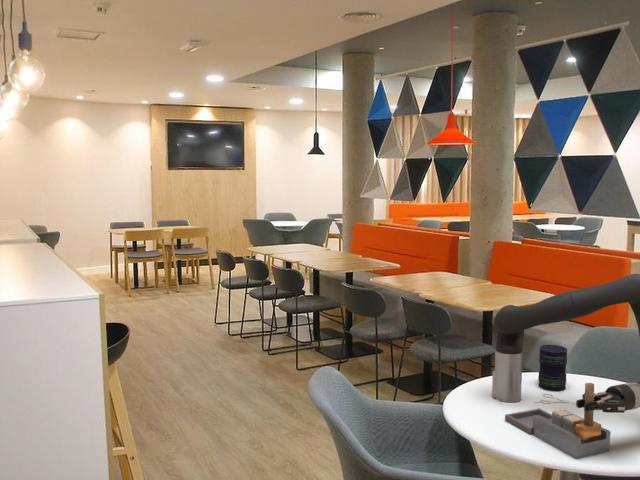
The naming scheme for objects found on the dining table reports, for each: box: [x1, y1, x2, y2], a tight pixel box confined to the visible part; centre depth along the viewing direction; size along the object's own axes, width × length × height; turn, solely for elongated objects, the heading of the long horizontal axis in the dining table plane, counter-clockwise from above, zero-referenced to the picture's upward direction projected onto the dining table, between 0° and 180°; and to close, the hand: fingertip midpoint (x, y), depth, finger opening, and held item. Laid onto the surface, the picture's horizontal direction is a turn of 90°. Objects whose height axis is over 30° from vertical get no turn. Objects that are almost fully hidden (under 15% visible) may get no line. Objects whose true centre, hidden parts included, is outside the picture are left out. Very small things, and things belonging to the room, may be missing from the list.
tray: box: [504, 408, 552, 435], centre depth 201 cm, size 12×14×2 cm
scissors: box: [533, 393, 576, 406], centre depth 219 cm, size 11×1×20 cm
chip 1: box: [551, 409, 572, 428], centre depth 190 cm, size 4×4×4 cm
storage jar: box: [537, 344, 568, 393], centre depth 234 cm, size 10×10×15 cm
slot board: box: [532, 409, 612, 460], centre depth 187 cm, size 18×12×6 cm
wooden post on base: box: [576, 382, 602, 438], centre depth 180 cm, size 3×6×15 cm, turn 112°
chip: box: [563, 414, 584, 434], centre depth 186 cm, size 4×4×4 cm
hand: (581, 406), depth 179 cm, fingers closed on wooden post on base, 2 cm apart
